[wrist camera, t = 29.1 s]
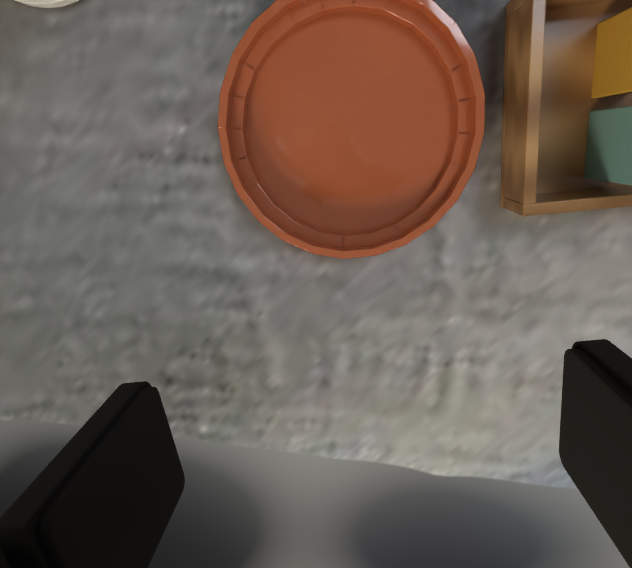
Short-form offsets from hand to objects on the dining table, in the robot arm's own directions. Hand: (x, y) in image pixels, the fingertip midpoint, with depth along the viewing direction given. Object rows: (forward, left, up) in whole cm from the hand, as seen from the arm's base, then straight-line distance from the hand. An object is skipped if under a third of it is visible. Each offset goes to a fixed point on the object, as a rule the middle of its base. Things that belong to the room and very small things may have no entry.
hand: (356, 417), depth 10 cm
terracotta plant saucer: (-7, 0, -26) cm, 26 cm away
